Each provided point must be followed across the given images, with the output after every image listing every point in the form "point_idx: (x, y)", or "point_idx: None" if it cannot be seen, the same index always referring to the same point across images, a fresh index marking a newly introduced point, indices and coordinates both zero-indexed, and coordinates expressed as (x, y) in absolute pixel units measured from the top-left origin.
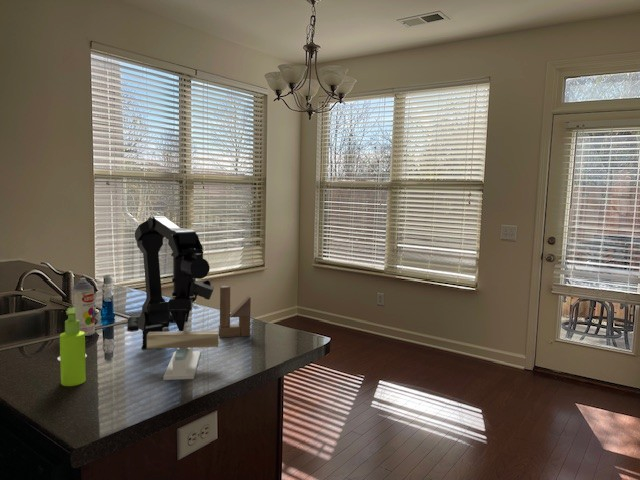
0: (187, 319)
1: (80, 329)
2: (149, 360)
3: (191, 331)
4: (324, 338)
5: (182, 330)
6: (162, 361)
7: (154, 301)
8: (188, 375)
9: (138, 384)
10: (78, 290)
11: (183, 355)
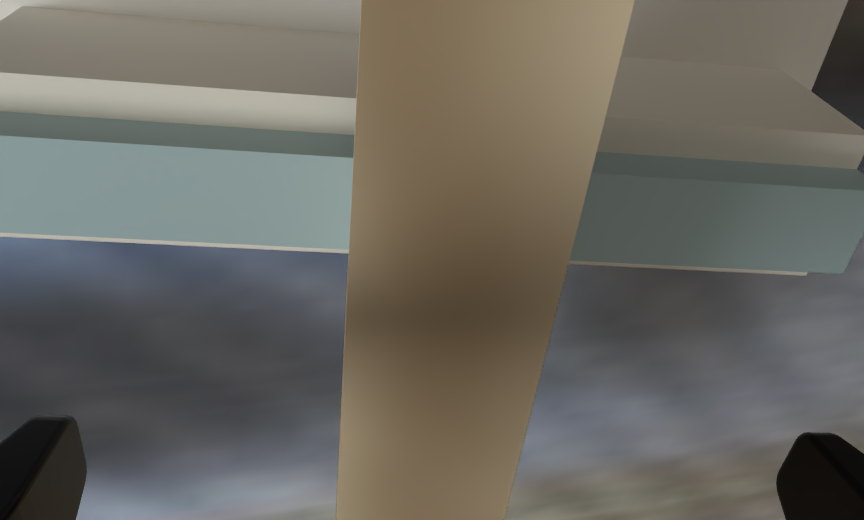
0: (48, 462)
1: None
2: (223, 386)
3: (372, 217)
4: None
5: (836, 449)
6: (253, 292)
7: None
8: (829, 38)
9: (740, 386)
10: None
11: (823, 185)
